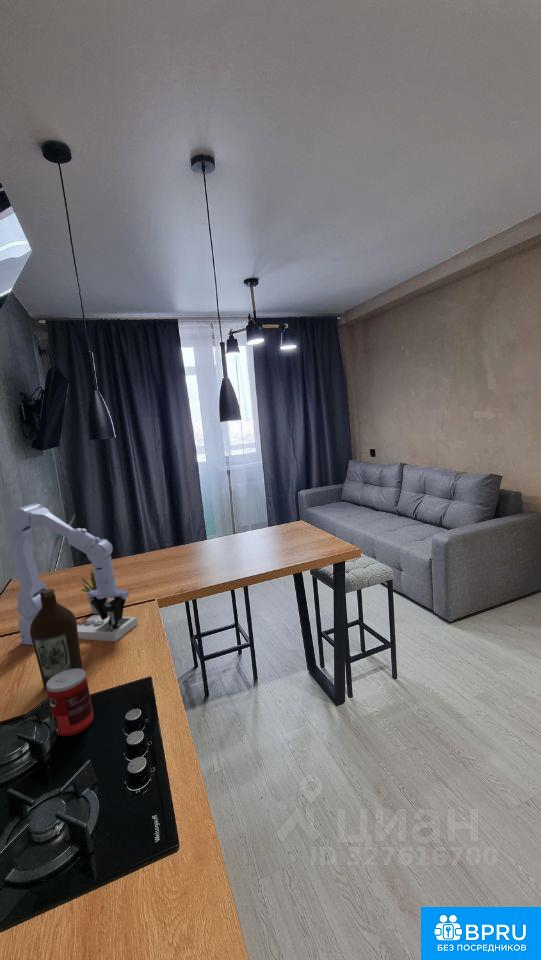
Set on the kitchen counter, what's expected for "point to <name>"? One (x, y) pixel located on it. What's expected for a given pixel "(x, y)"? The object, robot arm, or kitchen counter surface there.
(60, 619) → the olive oil
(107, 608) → the push button
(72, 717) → the canned food
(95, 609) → the house plant
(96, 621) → the control panel
